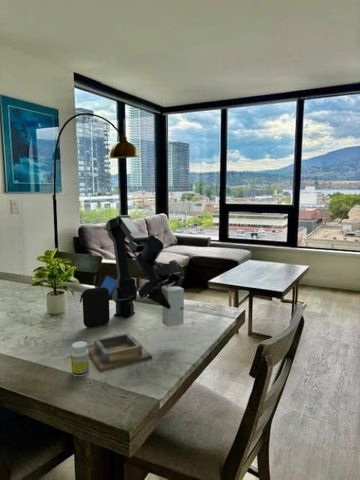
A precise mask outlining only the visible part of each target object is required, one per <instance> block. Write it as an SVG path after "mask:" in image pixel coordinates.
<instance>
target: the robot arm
mask: <svg viewBox="0 0 360 480" xmlns="http://www.w3.org/2000/svg"><path fill="white" fill-rule="evenodd" d="M105 230H106V232H107V237H108V238H109V239H110V240H111V241H112V243H113V250H114V258H115V265H116V266H115V267H116V273H117V274H116V275H117V277H116V278H117V280H116V283H115V289H114V291H113V294H112V299H111V300H112V301H113V303H115V313H114V314H113V317H119V318H124V319H128V318H130V317H131V316H133V315H135V314H136V312H135V304H134V301H137V294H138V296H139V297H140V299H145V298H146V299H147V300H151V301H153V302H155V303H156V304H158V305H161V306H164V307H166V308H167V309H170V308H171V306H170V304H169V302H168V301H167V299H166V297H165V296H164V294H163V288H164V287H166V288H167V287H175V286H179V287H181V282H182V280H183V279H184V278H185V275H184V274H183V272H181V271H179V269H180V264H179V263H178V261H177V260H176V259H172V260H170V261H168V263H167V264H162V263H158V261H157V259H158V257H159V256H160V255H161V253H162V252H163V250H164V243H163V241H162V240H160V239H159V238H157V237H156V236H155V235H154V234H151V235H148V234H147V233H145V232H142V231H140V230H139V229H138V227H137V226H136V224H135V223H134V222H133V221H132V218H131V216H130V215H128V214H124V215H122V214H121V215H116V216H115V217H114V218H111V219H109V220H108V221H107V222H106V223H105ZM126 238H127V239H128V249H129V250H130V251H131V253H132V254H137V256H134V263H133V264H134V265H135V266H137V265H138V266H139V268H140V269H141V271H142V272H143V274H144V275H142V277H143V278H144V279H148V281H146V282H144V284H142V286H141V287H140V288H139V289H138V287H137V285H136V279H135V278H133V277H132V276H131V275H130V267H129V261H128V255H127V248H126V241H125V240H126Z"/></svg>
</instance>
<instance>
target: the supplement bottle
mask: <svg viewBox="0 0 360 480" xmlns="http://www.w3.org/2000/svg"><path fill="white" fill-rule="evenodd" d="M87 346H88V344H87V342H86V341H81V340H80V341H76V342H73V343H72V344H71V350H72V351H71V352H70V353H71V354H70V359H71V360H70V361H71V374H72V376H74V377H77V376H79V377H85V376H86V375H88V374H89V373H90V360H89V359H90V355H89V352H88V349H87Z"/></svg>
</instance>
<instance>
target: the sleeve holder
mask: <svg viewBox="0 0 360 480" xmlns="http://www.w3.org/2000/svg"><path fill="white" fill-rule="evenodd" d="M87 349H88V352H89V357H90V358H91V359H92V361H93V362H94V364H95V365H96V367H97V369H98V371H99V372H104V371H107V370H111V369H115V368H119V367H123V366H124V367H125V366H128V365H130V364H131V365H132V364H135V363H139V362H143V361H147V360H152V359H153V355H152V354H151V352H149V351H148V350H147V349H146V348H145V347H144V346H143V345H142V344H141V343H140V342H139V341H138V340H137V339H136V338H135V337H134V336H133V335H131V334H130V333H129V332H126V333H123V334H117V335H113V336H107V337H102V338H97V339H94V344H93V343H92V344H89V345H88V344H87Z"/></svg>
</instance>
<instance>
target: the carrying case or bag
mask: <svg viewBox="0 0 360 480" xmlns="http://www.w3.org/2000/svg"><path fill="white" fill-rule="evenodd" d="M79 303H82V317H83V320H82V321H83V326H85V328H89V329H90V328H98V327H103V326H106V325H108V324H109V322H110V321H111V318H110V315H111V314H110V300H109V290H108V289H107V288H106V287H100V288H98V287H93V288H87V289H85V290H84V291H82V292H81V295H80V299H79Z"/></svg>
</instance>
